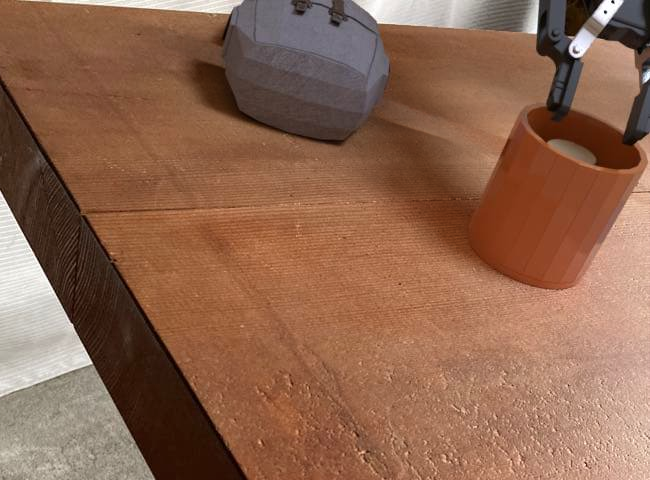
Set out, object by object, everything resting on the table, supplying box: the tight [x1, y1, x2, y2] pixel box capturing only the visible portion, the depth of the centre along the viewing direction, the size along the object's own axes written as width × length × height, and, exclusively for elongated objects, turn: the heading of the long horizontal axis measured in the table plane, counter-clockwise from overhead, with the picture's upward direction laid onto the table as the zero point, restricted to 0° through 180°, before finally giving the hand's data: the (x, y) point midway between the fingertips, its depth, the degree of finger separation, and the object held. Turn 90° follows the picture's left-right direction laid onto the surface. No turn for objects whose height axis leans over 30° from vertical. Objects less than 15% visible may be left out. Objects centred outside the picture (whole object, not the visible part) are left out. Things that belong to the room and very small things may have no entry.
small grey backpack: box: [220, 0, 391, 141], centre depth 88 cm, size 15×8×20 cm
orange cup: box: [466, 102, 649, 290], centre depth 77 cm, size 10×10×10 cm
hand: (595, 128), depth 71 cm, fingers open, 5 cm apart
